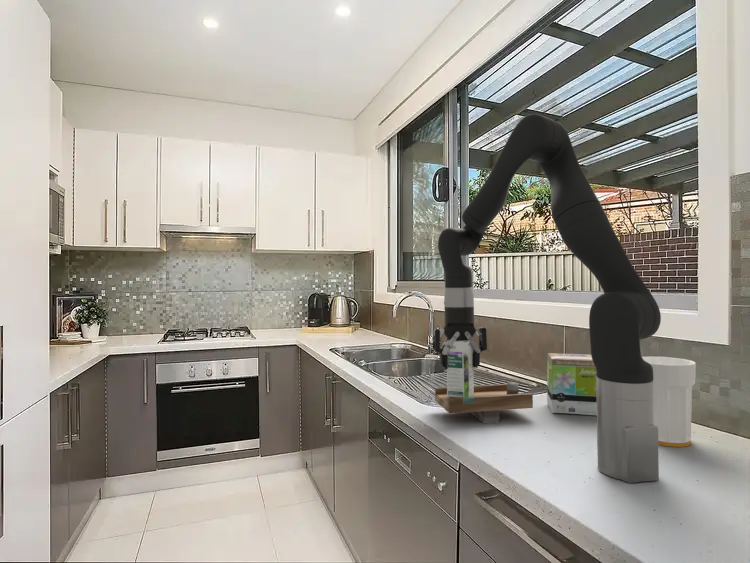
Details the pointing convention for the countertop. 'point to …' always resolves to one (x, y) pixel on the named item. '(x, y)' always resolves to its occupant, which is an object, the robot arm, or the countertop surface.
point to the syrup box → (460, 369)
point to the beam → (486, 401)
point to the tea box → (571, 384)
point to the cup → (672, 399)
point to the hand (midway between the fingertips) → (460, 367)
